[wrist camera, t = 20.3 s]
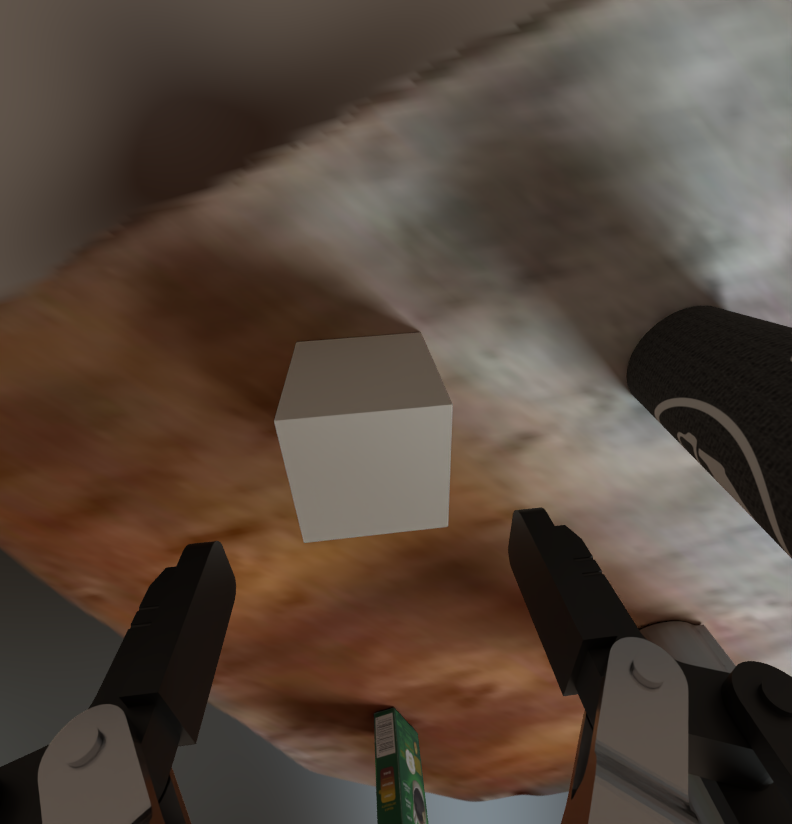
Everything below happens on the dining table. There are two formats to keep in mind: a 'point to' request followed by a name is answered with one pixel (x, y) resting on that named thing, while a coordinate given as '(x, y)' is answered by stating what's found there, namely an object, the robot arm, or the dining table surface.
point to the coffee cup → (726, 403)
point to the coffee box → (398, 771)
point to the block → (366, 437)
